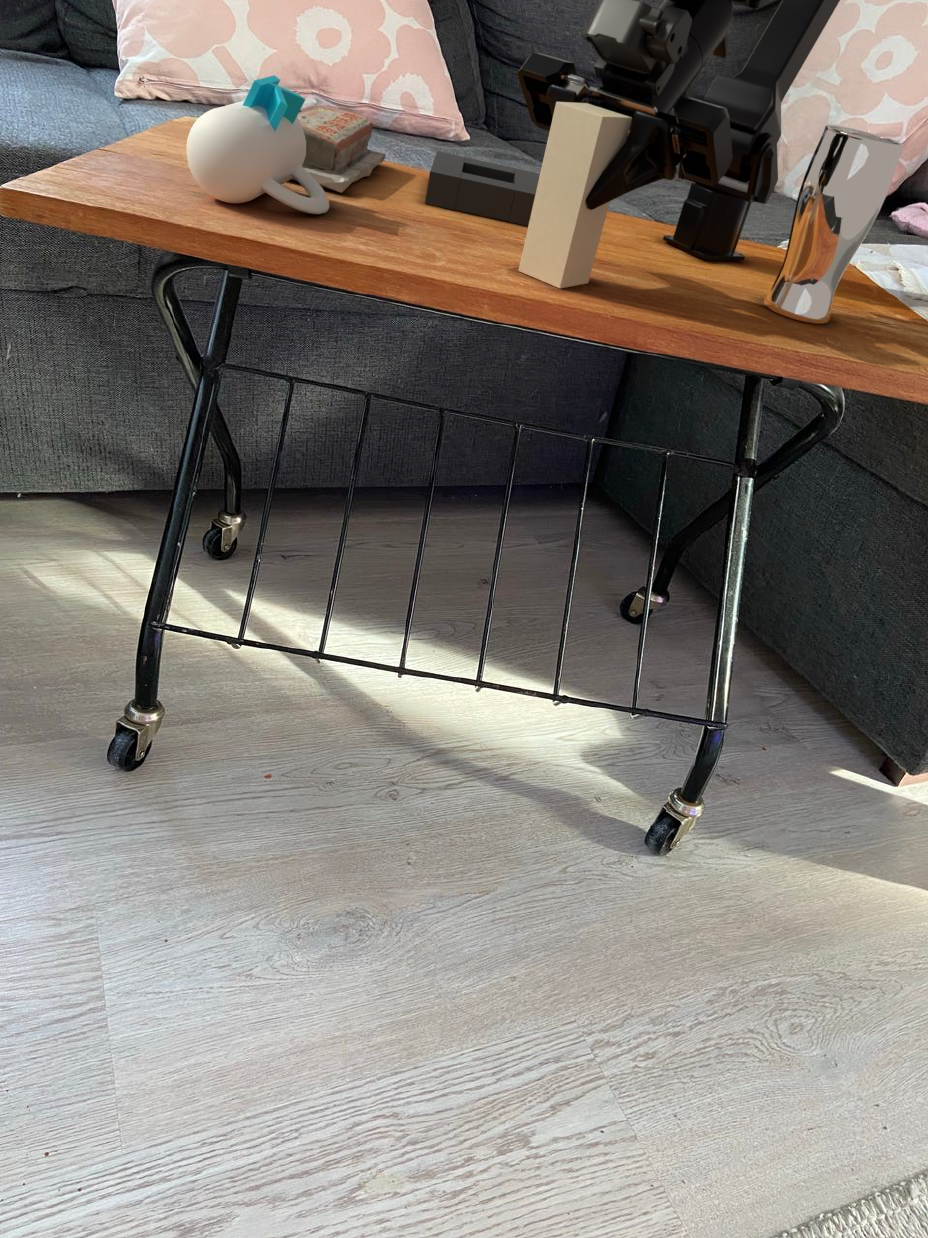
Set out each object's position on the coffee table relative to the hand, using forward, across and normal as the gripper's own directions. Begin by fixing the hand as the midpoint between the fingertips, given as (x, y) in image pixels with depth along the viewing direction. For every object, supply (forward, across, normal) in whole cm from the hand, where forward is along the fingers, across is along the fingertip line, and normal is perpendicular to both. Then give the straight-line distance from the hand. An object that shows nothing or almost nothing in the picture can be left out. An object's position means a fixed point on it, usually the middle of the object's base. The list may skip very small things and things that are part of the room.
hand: (563, 196), depth 79 cm
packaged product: (+1, -32, +8) cm, 33 cm away
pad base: (-6, -19, +16) cm, 25 cm away
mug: (+12, -23, -3) cm, 26 cm away
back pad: (+4, 0, +6) cm, 7 cm away
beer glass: (-9, +15, +19) cm, 26 cm away
